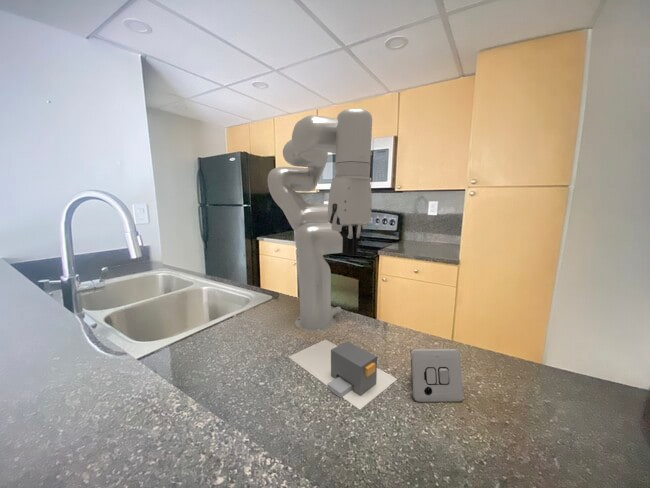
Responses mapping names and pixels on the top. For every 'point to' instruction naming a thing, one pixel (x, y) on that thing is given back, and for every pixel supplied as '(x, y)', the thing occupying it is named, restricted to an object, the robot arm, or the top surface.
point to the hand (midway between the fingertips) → (349, 254)
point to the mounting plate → (319, 366)
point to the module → (354, 366)
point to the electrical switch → (436, 375)
